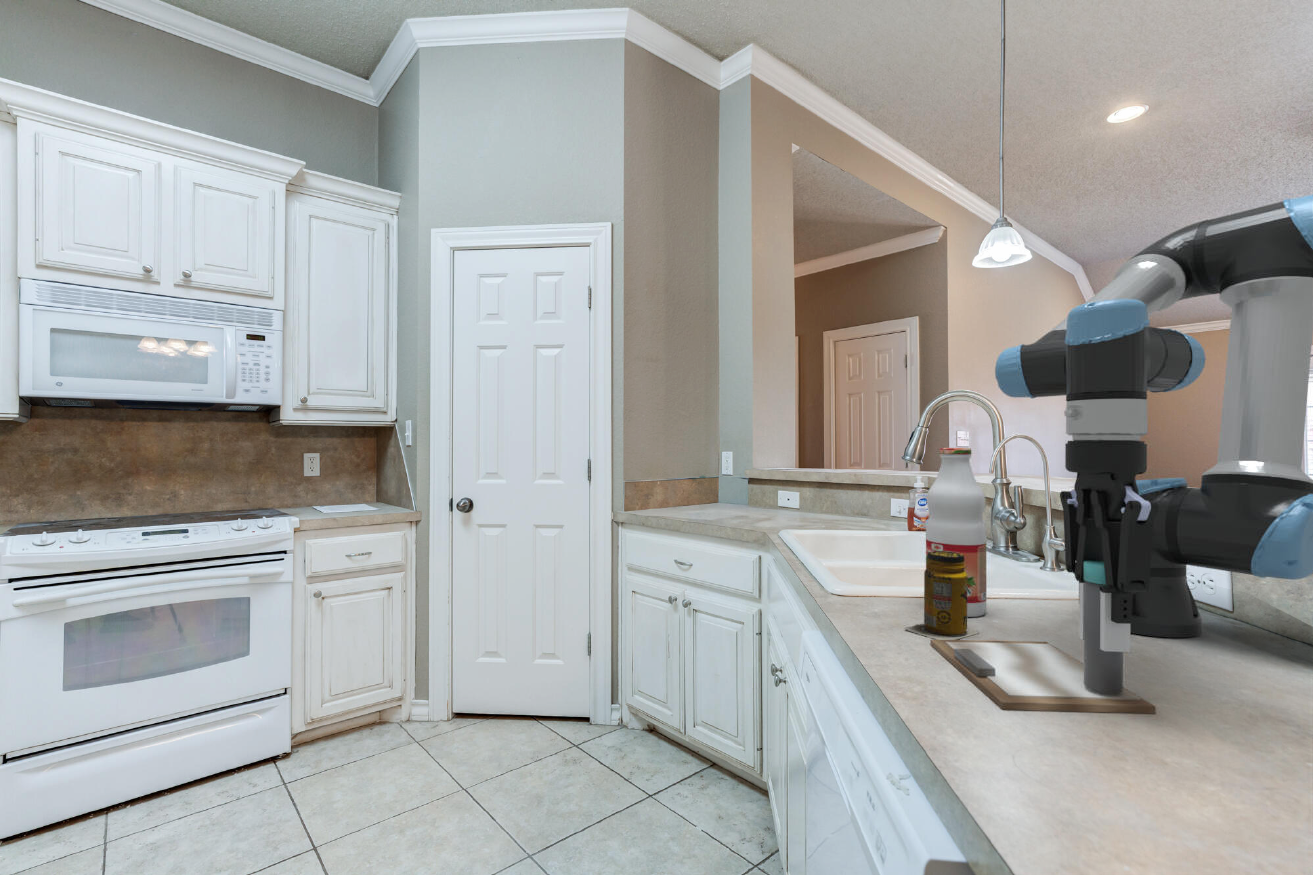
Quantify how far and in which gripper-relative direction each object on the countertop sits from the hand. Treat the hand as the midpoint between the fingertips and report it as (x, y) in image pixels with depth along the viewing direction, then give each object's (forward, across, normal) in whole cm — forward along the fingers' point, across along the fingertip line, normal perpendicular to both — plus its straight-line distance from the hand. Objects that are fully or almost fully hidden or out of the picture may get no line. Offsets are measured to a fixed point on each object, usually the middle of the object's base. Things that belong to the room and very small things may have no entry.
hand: (1103, 644), depth 70 cm
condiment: (+7, -24, -9) cm, 27 cm away
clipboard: (+6, -7, -5) cm, 11 cm away
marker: (+5, 0, 0) cm, 5 cm away
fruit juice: (+6, -36, -2) cm, 37 cm away
